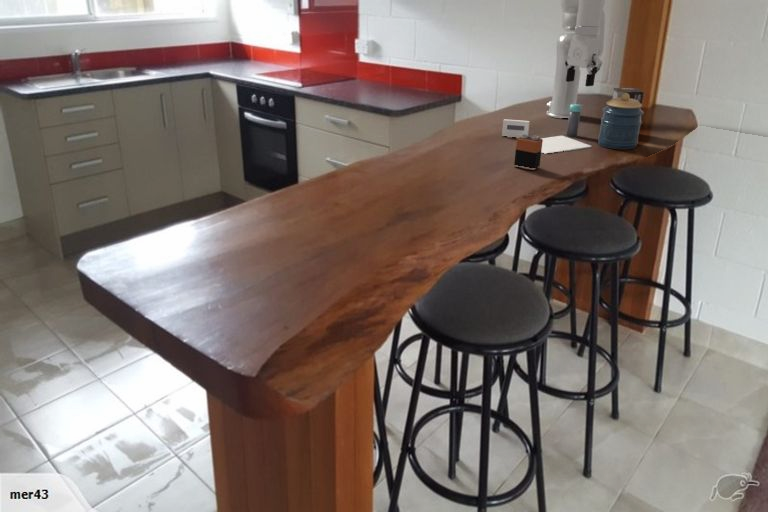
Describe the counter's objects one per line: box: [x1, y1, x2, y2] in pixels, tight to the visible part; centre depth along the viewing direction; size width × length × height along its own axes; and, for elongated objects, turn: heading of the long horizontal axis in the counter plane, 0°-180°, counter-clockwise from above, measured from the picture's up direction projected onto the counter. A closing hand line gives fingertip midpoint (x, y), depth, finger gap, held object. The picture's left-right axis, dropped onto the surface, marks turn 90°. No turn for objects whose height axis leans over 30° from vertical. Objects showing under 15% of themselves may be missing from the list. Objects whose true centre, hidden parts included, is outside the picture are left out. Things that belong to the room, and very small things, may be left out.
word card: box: [501, 118, 530, 139], centre depth 218 cm, size 1×9×6 cm, turn 74°
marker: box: [565, 103, 583, 138], centre depth 219 cm, size 4×4×11 cm
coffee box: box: [611, 87, 644, 110], centre depth 220 cm, size 9×6×16 cm
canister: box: [597, 93, 644, 151], centre depth 207 cm, size 13×13×18 cm
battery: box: [513, 135, 543, 168], centre depth 186 cm, size 4×7×10 cm, turn 54°
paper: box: [540, 135, 593, 155], centre depth 210 cm, size 15×20×1 cm
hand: (579, 83), depth 213 cm, fingers open, 9 cm apart
